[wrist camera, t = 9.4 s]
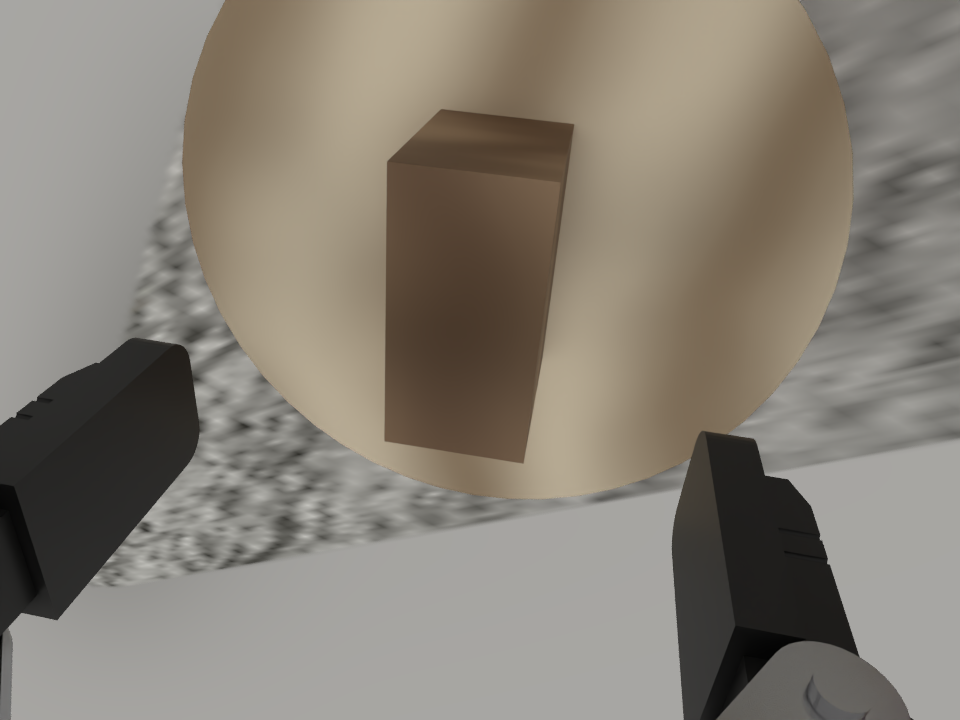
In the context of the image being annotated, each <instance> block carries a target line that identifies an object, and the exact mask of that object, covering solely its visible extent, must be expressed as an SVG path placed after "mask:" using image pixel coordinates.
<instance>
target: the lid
mask: <svg viewBox="0 0 960 720" xmlns="http://www.w3.org/2000/svg"><path fill="white" fill-rule="evenodd" d="M182 164H183V178H184V192H185V204H186V209H187V214H188V219H189V224H190V229H191V234H192V239H193V243H194V246H195V249H196V253H197V256H198V259H199V262H200V265H201V268H202V271H203V274H204V277H205V280H206V282H207V284H208V286H209V289H210V291H211V293H212V295H213V297H214V299H215V302H216V304H217V306H218V308H219V310H220V313H221V314H222V316H223V318H224V319H225V321H226V323H227V324H228V326H229V328H230V329H231V331H232V333H233V334H234V336H235V338H236V340H237V341H238V343H239V345H240V346H241V347H242V349H243V350H244V351H245V353H246V354H247V355H248V357H249V358H250V359H251V361H252V362H253V363H254V365H255V366H256V367H257V368H258V370H259V371H260V372H261V374H262V375H263V376H264V377H265V378H266V379H267V380H268V381H269V382H270V384H271V385H272V386H273V387H274V388H275V389H276V390H277V391H278V392H279V393H280V394H281V395H282V396H283V397H284V399H285V400H286V401H287V402H289V403H290V404H291V405H292V406H293V407H294V408H295V409H297V410H298V411H299V412H300V413H301V414H302V415H303V416H305V417H306V418H307V419H308V420H309V421H310V422H312V423H313V424H314V425H315V426H317V427H318V428H319V429H321V430H322V431H324V432H325V433H327V434H328V435H329V436H331V437H332V438H334V439H335V440H336V441H338V442H339V443H341V444H342V445H344V446H346V447H347V448H349V449H351V450H353V451H354V452H356V453H358V454H360V455H361V456H363V457H365V458H367V459H369V460H370V461H372V462H374V463H376V464H378V465H381V466H383V467H385V468H388V469H390V470H392V471H394V472H397V473H399V474H401V475H403V476H406V477H409V478H412V479H415V480H418V481H421V482H424V483H427V484H430V485H433V486H436V487H440V488H444V489H449V490H454V491H458V492H463V493H467V494H472V495H480V496H488V497H497V498H506V499H550V498H561V497H572V496H581V495H586V494H591V493H596V492H601V491H606V490H611V489H615V488H618V487H621V486H624V485H628V484H631V483H634V482H637V481H640V480H643V479H647V478H649V477H652V476H654V475H656V474H658V473H661V472H663V471H665V470H667V469H670V468H672V467H674V466H676V465H679V464H681V463H683V462H684V461H686V460H688V459H690V458H691V457H692V453H693V450H694V446H695V443H696V440H697V437H698V435H699V433H700V432H701V431H708V432H714V433H720V434H728V433H729V432H731V431H732V430H733V429H735V428H736V427H737V426H739V425H740V424H741V423H743V422H744V421H745V420H746V419H747V418H748V417H749V416H750V415H751V414H752V413H753V412H754V411H755V410H756V409H757V408H758V407H759V406H760V405H761V404H762V403H764V402H765V401H766V400H767V399H768V398H769V397H770V396H771V395H772V394H773V392H774V391H775V390H776V389H777V387H778V386H779V385H780V384H781V382H782V381H783V380H784V379H785V377H786V376H787V375H788V374H789V372H790V371H791V370H792V369H793V367H794V366H795V365H796V364H797V362H798V361H799V359H800V357H801V356H802V354H803V352H804V351H805V349H806V347H807V346H808V344H809V342H810V341H811V339H812V338H813V336H814V334H815V333H816V331H817V329H818V328H819V326H820V323H821V321H822V319H823V316H824V314H825V312H826V309H827V307H828V305H829V302H830V300H831V298H832V295H833V293H834V291H835V288H836V285H837V282H838V278H839V274H840V271H841V267H842V264H843V260H844V256H845V253H846V249H847V245H848V238H849V230H850V223H851V215H852V207H853V152H852V146H851V140H850V134H849V128H848V122H847V116H846V111H845V105H844V101H843V98H842V95H841V92H840V89H839V86H838V83H837V80H836V77H835V74H834V71H833V68H832V65H831V62H830V59H829V56H828V54H827V52H826V50H825V48H824V46H823V44H822V42H821V40H820V38H819V36H818V34H817V32H816V30H815V28H814V26H813V24H812V22H811V20H810V18H809V16H808V14H807V13H806V11H805V9H804V7H803V6H802V5H801V3H800V2H799V0H225V2H224V4H223V6H222V8H221V10H220V12H219V14H218V16H217V18H216V20H215V22H214V24H213V26H212V28H211V30H210V32H209V33H208V35H207V38H206V41H205V44H204V47H203V50H202V53H201V55H200V58H199V61H198V64H197V67H196V70H195V73H194V76H193V80H192V85H191V90H190V95H189V100H188V106H187V111H186V116H185V124H184V141H183V159H182Z"/></svg>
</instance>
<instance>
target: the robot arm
mask: <svg viewBox="0 0 960 720" xmlns="http://www.w3.org/2000/svg"><path fill="white" fill-rule="evenodd" d="M198 439H199V419H198V413H197V406H196V399H195V392H194V385H193V378H192V371H191V365H190V359H189V355H188V352H187V351H186V349H185V348H184V347H183V346H181V345H178V344H171V343H165V342H159V341H153V340H147V339H140V338H132V339H129V340H128V341H126V342H125V343H124V344H123V345H121V346H120V347H119V348H118V349H116V350H115V351H114V352H113V353H111V354H110V355H109V356H108V357H106V358H105V359H104V360H103V361H101V362H100V363H94V364H92V365H90V366H87V367H85V368H83V369H81V370H78V371H76V372H74V373H71V374H69V375H67V376H65V377H63V378H61V379H60V380H58V381H57V382H56V383H55V384H53V385H52V386H51V387H49V388H48V389H47V390H46V391H44V392H43V393H42V394H40V395H39V396H38V397H37V401H31V402H30V403H29V404H27V405H26V406H25V407H24V408H22V409H21V410H20V411H18V412H17V415H16V417H15V418H13V417H11V418H9V419H8V420H7V421H6V422H4V423H3V424H2V425H0V720H11V691H12V690H11V688H12V652H13V642H12V637H11V634H10V631H9V629H8V627H9V626H10V625H11V623H12V622H13V621H14V620H15V619H16V618H17V617H18V616H19V615H20V614H21V613H26V614H30V615H35V616H40V617H45V618H49V619H54V620H58V619H59V617H60V616H61V615H62V614H63V612H64V611H65V610H66V609H67V608H68V607H69V605H70V604H71V603H72V602H73V601H74V599H75V598H76V597H77V596H78V595H79V594H80V592H81V591H82V590H83V589H84V588H85V586H86V585H87V584H88V583H89V582H90V580H91V579H92V578H93V577H94V576H95V574H96V573H97V572H98V571H99V570H100V568H101V567H102V566H103V565H104V564H105V563H106V561H107V560H108V559H109V558H110V557H111V555H112V554H113V553H114V552H115V551H116V549H117V548H118V547H119V546H120V545H121V543H122V542H123V541H124V540H125V539H126V537H127V536H128V535H129V534H130V533H131V531H132V530H133V529H134V528H135V527H136V526H137V524H138V523H139V522H140V521H141V520H142V518H143V517H144V516H145V515H146V514H147V512H148V511H149V510H150V509H151V508H152V506H153V505H154V504H155V503H156V502H157V500H158V499H159V498H160V497H161V496H162V495H163V493H164V492H165V491H166V490H167V489H168V487H169V486H170V485H171V484H172V483H173V481H174V480H175V479H176V478H177V477H178V475H179V474H180V473H181V472H182V471H183V469H184V468H185V467H186V466H187V465H188V463H189V462H190V460H191V459H192V457H193V455H194V453H195V450H196V447H197V443H198ZM819 537H820V533H819V530H818V527H817V523H816V521H815V517H814V514H813V511H812V508H811V506H810V505H809V503H808V502H807V501H806V500H805V499H804V498H803V496H802V495H801V494H800V493H799V492H798V491H797V490H796V489H795V487H794V486H793V485H792V484H791V482H790V481H789V480H788V479H781V478H775V477H770V476H765V474H764V470H763V466H762V463H761V459H760V455H759V451H758V447H757V444H756V441H755V440H754V439H751V438H745V437H739V436H733V435H727V434H720V433H714V432H708V431H701V432H700V433H699V435H698V437H697V440H696V443H695V446H694V450H693V453H692V457H691V461H690V464H689V468H688V471H687V475H686V478H685V482H684V485H683V489H682V492H681V496H680V500H679V503H678V507H677V511H676V515H675V520H674V527H673V536H672V559H673V573H674V587H675V602H676V616H677V628H678V643H679V658H680V672H681V686H682V699H683V714H684V720H913V719H912V718H910V716H909V713H908V710H907V708H906V706H905V704H904V702H903V700H902V698H901V696H900V695H899V694H898V692H897V690H896V689H895V688H894V687H893V685H892V684H891V683H890V682H889V681H888V680H887V679H886V678H885V677H884V676H883V675H882V674H881V673H880V672H879V671H878V670H877V669H876V668H874V667H873V666H872V665H870V664H869V663H868V662H866V661H865V660H863V659H862V658H860V657H859V654H858V651H857V648H856V645H855V642H854V639H853V636H852V632H851V629H850V626H849V623H848V620H847V617H846V614H845V610H844V607H843V604H842V601H841V598H840V595H839V592H838V589H837V586H836V583H835V579H834V576H833V573H832V570H831V567H830V565H828V564H827V560H828V558H827V555H826V551H825V548H824V545H823V542H822V541H821V540H820V539H819Z"/></svg>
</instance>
